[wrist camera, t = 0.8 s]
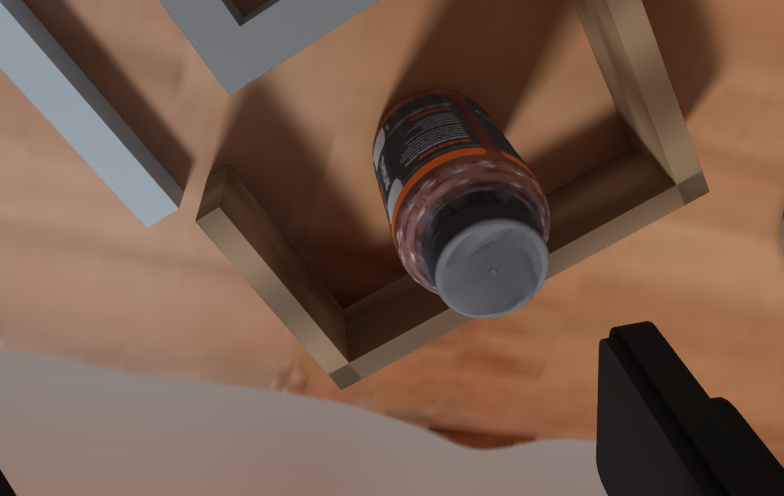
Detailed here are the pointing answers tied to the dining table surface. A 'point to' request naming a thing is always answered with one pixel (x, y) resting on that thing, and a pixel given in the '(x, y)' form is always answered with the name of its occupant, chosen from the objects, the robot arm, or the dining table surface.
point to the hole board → (255, 32)
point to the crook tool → (83, 115)
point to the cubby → (566, 205)
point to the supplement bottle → (461, 204)
